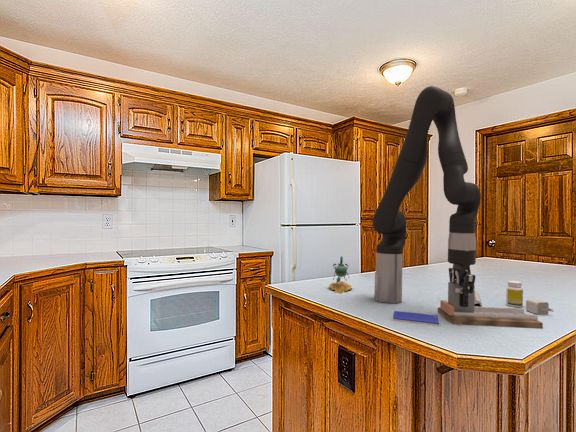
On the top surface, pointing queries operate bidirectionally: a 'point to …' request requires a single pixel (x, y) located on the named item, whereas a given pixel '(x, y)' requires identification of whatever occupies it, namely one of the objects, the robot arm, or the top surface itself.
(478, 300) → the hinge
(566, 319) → the top surface
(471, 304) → the block
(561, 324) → the top surface
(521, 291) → the supplement bottle
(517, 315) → the rail board
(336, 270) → the frog figurine
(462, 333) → the top surface
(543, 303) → the usb wall charger
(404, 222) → the robot arm
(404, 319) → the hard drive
